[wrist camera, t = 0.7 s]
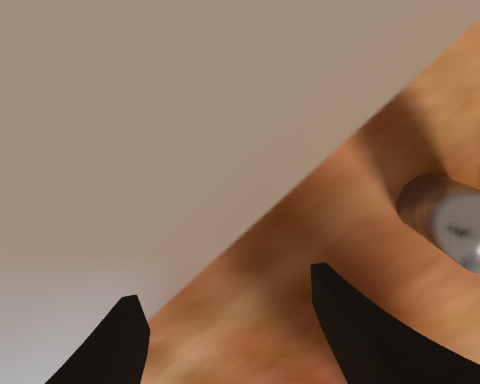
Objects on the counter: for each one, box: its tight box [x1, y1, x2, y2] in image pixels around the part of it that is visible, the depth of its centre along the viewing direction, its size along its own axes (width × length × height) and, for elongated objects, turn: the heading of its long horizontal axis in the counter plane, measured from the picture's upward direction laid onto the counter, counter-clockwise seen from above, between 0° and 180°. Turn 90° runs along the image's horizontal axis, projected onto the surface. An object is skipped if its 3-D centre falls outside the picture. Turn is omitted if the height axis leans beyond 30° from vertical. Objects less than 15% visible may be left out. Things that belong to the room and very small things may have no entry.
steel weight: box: [397, 174, 480, 273], centre depth 19 cm, size 4×4×6 cm
